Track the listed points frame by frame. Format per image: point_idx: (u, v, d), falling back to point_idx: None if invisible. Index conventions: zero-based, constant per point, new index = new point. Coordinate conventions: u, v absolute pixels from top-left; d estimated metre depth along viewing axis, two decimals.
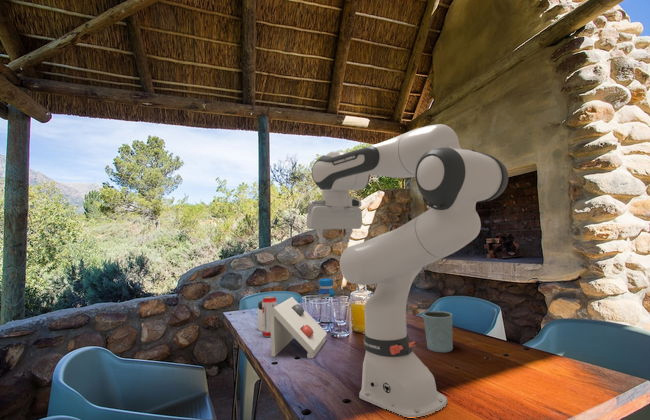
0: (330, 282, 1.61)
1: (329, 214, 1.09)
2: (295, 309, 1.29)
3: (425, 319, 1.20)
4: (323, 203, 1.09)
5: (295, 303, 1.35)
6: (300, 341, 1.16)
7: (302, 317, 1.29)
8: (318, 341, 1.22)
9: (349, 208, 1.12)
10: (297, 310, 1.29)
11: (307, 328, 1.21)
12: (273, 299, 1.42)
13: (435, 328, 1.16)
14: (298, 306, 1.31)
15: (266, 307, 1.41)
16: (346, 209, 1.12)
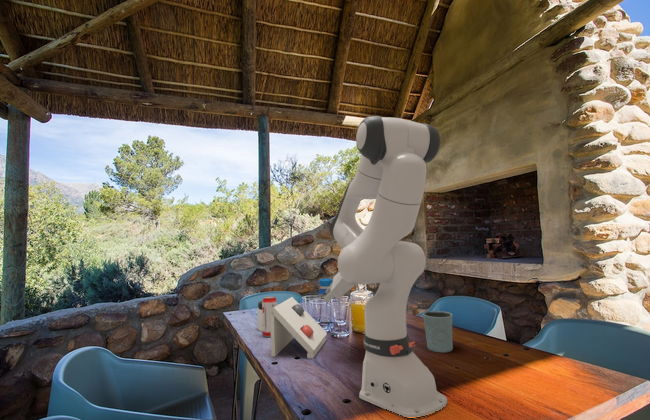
0: (330, 282, 1.61)
1: None
2: (295, 309, 1.29)
3: (425, 319, 1.20)
4: None
5: (295, 303, 1.35)
6: (300, 341, 1.16)
7: (302, 317, 1.29)
8: (318, 341, 1.22)
9: None
10: (297, 310, 1.29)
11: (307, 328, 1.21)
12: (273, 299, 1.42)
13: (435, 328, 1.16)
14: (298, 306, 1.31)
15: (266, 307, 1.41)
16: None
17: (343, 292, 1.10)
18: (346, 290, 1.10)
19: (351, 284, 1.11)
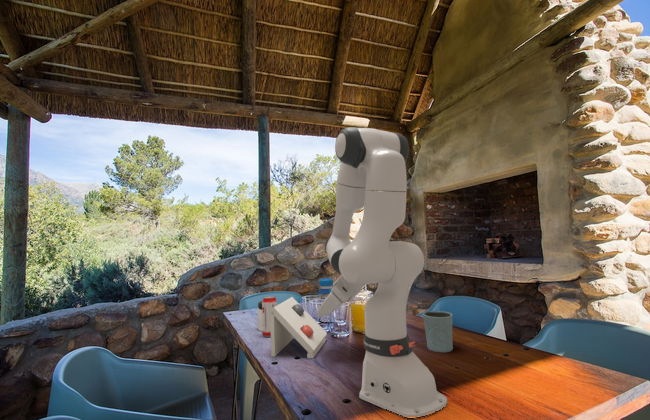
0: (330, 282, 1.61)
1: None
2: (295, 309, 1.29)
3: (425, 319, 1.20)
4: None
5: (295, 303, 1.35)
6: (300, 341, 1.16)
7: (302, 317, 1.29)
8: (318, 341, 1.22)
9: None
10: (297, 310, 1.29)
11: (307, 328, 1.21)
12: (273, 299, 1.42)
13: (435, 328, 1.16)
14: (298, 306, 1.31)
15: (266, 307, 1.41)
16: None
17: (330, 310, 1.11)
18: (333, 308, 1.11)
19: (338, 302, 1.11)
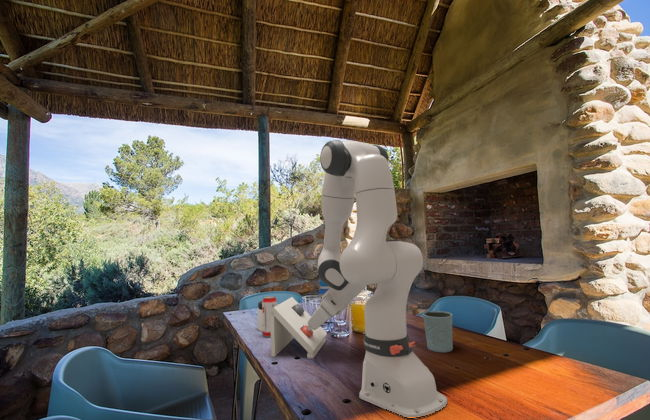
0: None
1: None
2: (295, 309, 1.29)
3: (425, 319, 1.20)
4: None
5: (295, 303, 1.35)
6: (300, 341, 1.16)
7: (302, 317, 1.29)
8: (318, 341, 1.22)
9: None
10: (297, 310, 1.29)
11: None
12: (273, 299, 1.42)
13: (435, 328, 1.16)
14: (298, 306, 1.31)
15: (266, 307, 1.41)
16: None
17: (319, 323, 1.11)
18: (322, 321, 1.11)
19: (327, 315, 1.11)
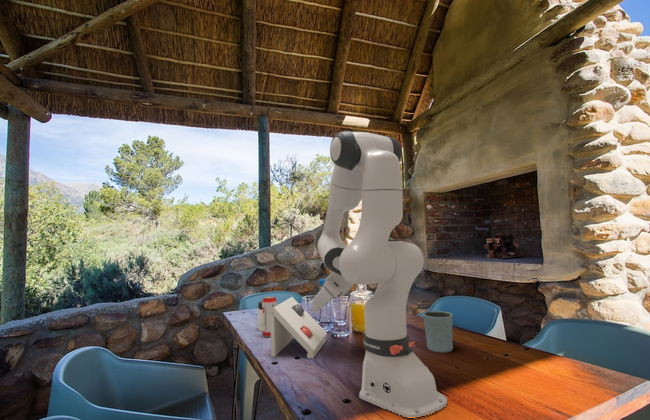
0: None
1: None
2: (295, 309, 1.29)
3: (425, 319, 1.20)
4: None
5: (295, 303, 1.35)
6: (300, 341, 1.16)
7: (302, 317, 1.29)
8: (318, 341, 1.22)
9: None
10: (297, 310, 1.29)
11: (306, 330, 1.21)
12: (273, 299, 1.42)
13: (435, 328, 1.16)
14: (298, 306, 1.31)
15: (266, 307, 1.41)
16: None
17: (322, 304, 1.15)
18: (325, 302, 1.15)
19: (330, 296, 1.15)
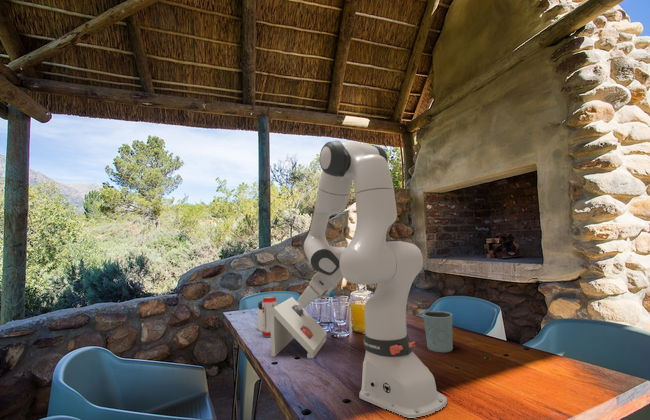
0: None
1: None
2: (294, 310, 1.29)
3: (425, 319, 1.20)
4: None
5: (295, 303, 1.35)
6: (300, 341, 1.16)
7: (302, 317, 1.29)
8: (318, 341, 1.22)
9: None
10: (296, 311, 1.29)
11: (306, 330, 1.21)
12: (273, 299, 1.42)
13: (435, 328, 1.16)
14: None
15: (266, 307, 1.41)
16: None
17: (308, 301, 1.20)
18: (310, 300, 1.20)
19: (315, 294, 1.21)
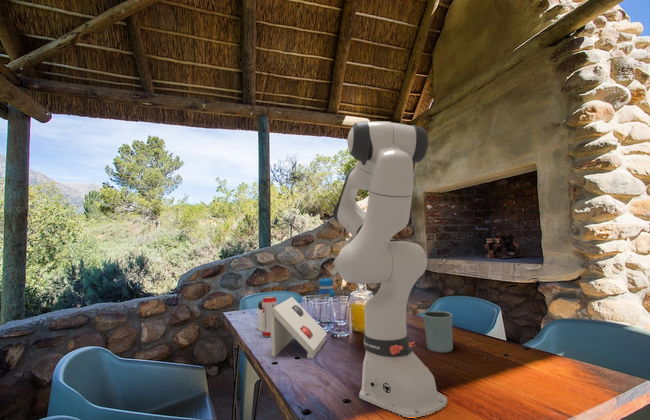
0: (330, 282, 1.61)
1: None
2: (294, 310, 1.29)
3: (425, 319, 1.20)
4: None
5: (295, 303, 1.35)
6: (300, 341, 1.16)
7: (302, 317, 1.29)
8: (318, 341, 1.22)
9: None
10: (296, 311, 1.29)
11: (306, 330, 1.21)
12: (273, 299, 1.42)
13: (435, 328, 1.16)
14: (297, 307, 1.31)
15: (266, 307, 1.41)
16: None
17: None
18: None
19: None
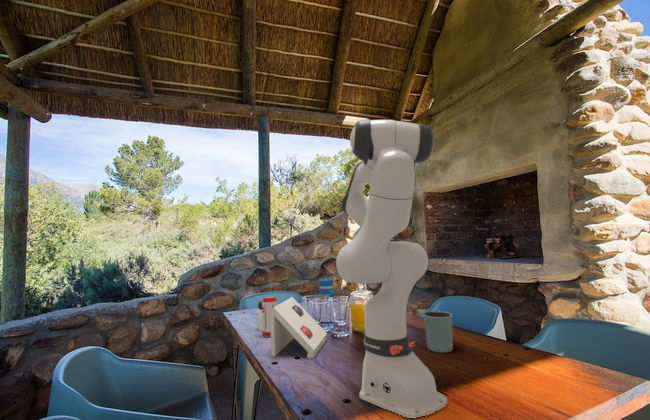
0: (330, 282, 1.61)
1: None
2: (294, 310, 1.29)
3: (425, 319, 1.20)
4: None
5: (295, 303, 1.35)
6: (300, 341, 1.16)
7: (302, 317, 1.29)
8: (318, 341, 1.22)
9: None
10: (296, 311, 1.29)
11: (306, 330, 1.21)
12: (273, 299, 1.42)
13: (435, 328, 1.16)
14: (297, 307, 1.31)
15: (266, 307, 1.41)
16: None
17: None
18: None
19: None
